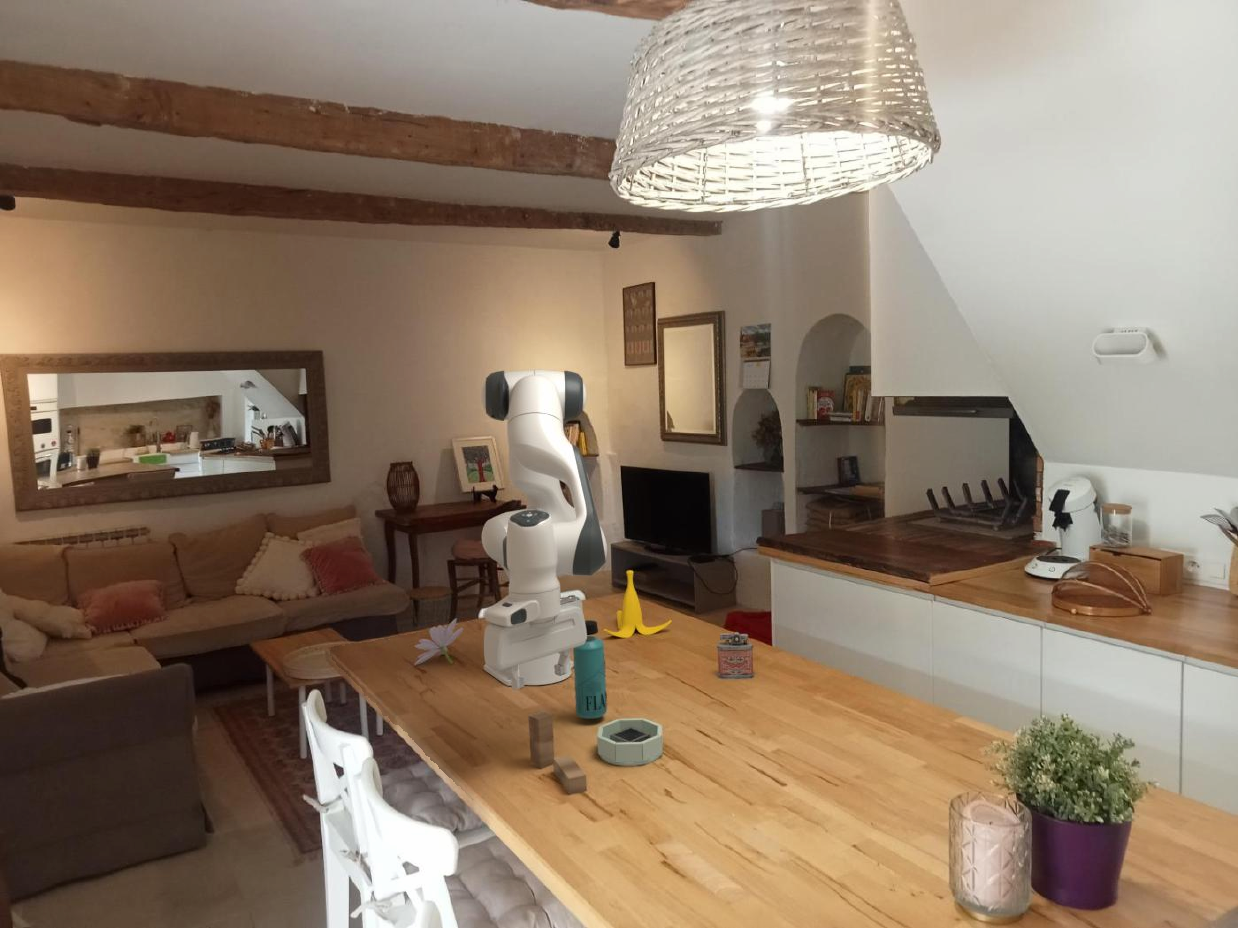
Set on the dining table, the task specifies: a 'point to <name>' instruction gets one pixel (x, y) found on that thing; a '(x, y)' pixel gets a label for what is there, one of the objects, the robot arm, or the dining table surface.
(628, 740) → the wick clip
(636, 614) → the banana peel
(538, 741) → the wooden post
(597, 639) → the beverage bottle
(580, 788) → the small wooden block
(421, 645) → the water lily
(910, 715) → the dining table surface
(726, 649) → the lighter
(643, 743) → the faceted green bowl
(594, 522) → the robot arm
